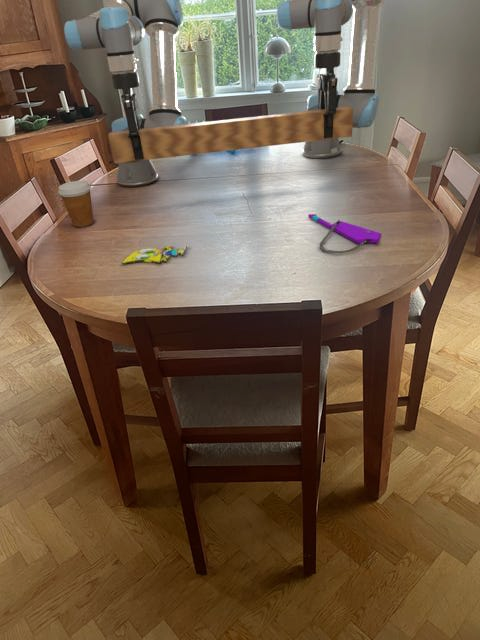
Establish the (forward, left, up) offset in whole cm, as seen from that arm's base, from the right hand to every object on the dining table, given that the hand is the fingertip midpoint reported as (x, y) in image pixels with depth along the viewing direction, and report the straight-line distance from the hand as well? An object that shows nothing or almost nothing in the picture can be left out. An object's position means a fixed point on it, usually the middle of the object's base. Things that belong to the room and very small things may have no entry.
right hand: (326, 135), depth 152 cm
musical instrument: (+41, +3, -17) cm, 45 cm away
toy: (+53, -42, -17) cm, 70 cm away
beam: (+9, -28, -1) cm, 30 cm away
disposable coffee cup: (+30, -74, -17) cm, 81 cm away
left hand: (+18, -56, 0) cm, 59 cm away
